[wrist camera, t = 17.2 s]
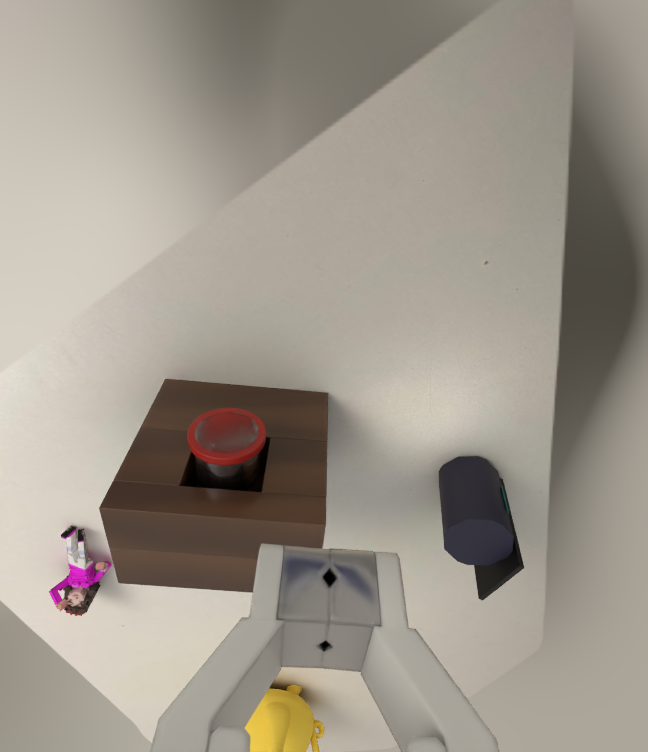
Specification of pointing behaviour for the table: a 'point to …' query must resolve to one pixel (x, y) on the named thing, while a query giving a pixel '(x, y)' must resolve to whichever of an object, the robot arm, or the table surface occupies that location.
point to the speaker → (479, 522)
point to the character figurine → (78, 576)
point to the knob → (227, 448)
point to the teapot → (283, 723)
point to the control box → (216, 490)
